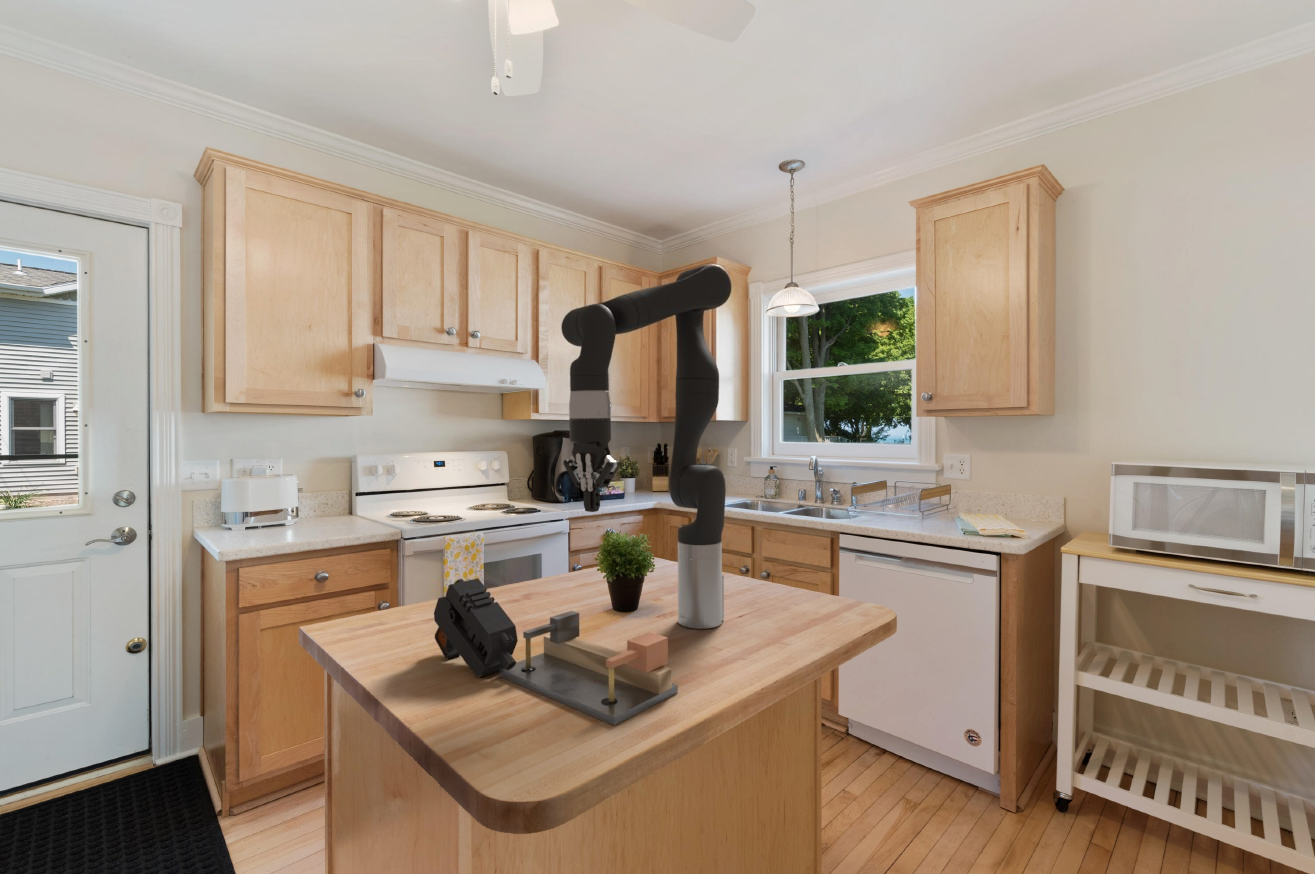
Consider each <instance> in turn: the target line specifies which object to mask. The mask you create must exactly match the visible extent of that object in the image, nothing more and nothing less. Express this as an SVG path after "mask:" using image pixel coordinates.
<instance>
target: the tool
mask: <svg viewBox="0 0 1315 874" xmlns="http://www.w3.org/2000/svg"><path fill="white" fill-rule="evenodd" d="M487 590H488V588H487V587H486V586H485V585H484V583H482V581H481V580H480V579H479V578H473V579H469V580H464V579H463V578H459V579H456V581H454V583H451V584H448V587H447V590H446V593H445V596H441V597H438V598H437V601H436V605H435V608H434V610H433V611H434V612H433V617H434V620H433V621H434V622H435V624H436V625H437V626H438V627H437V629H436V631H435V633H434V640H435V642H436V644H437V646H438V647H439V649H440V651H441V653H442V655H443V656H444V658H445V660H449V659H453V658H455V657H458V656H460V657H461V658H462V660H463V661H464V663H465V664H466V665H467V666H468V668H469V669H470V670H471V672H472V673H473V675H474V676H475V677H476V678H482V677H484V676H486V675H490V674H492V673H495V672H499V669H500V668H502V667H504V668H505V669H506V670H510V669H512V668H513V667H514V666H515V664H516V663H517V661H516V660H515V658H514V657H513V654H514V651H515V649H516V646H517V645H518V641H519V639H518V634H517V633H518V632H517V628H516V625H515V623H514V622H513V620H512V619H511V618H510V616H508V614H507V613H506V611H505V610H504V609H503V608H502V606H501V605H500V603H498V601H495V600H496V599H495V597H493V596H491V595H492V594H491V592H490V591H487Z"/></svg>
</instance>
